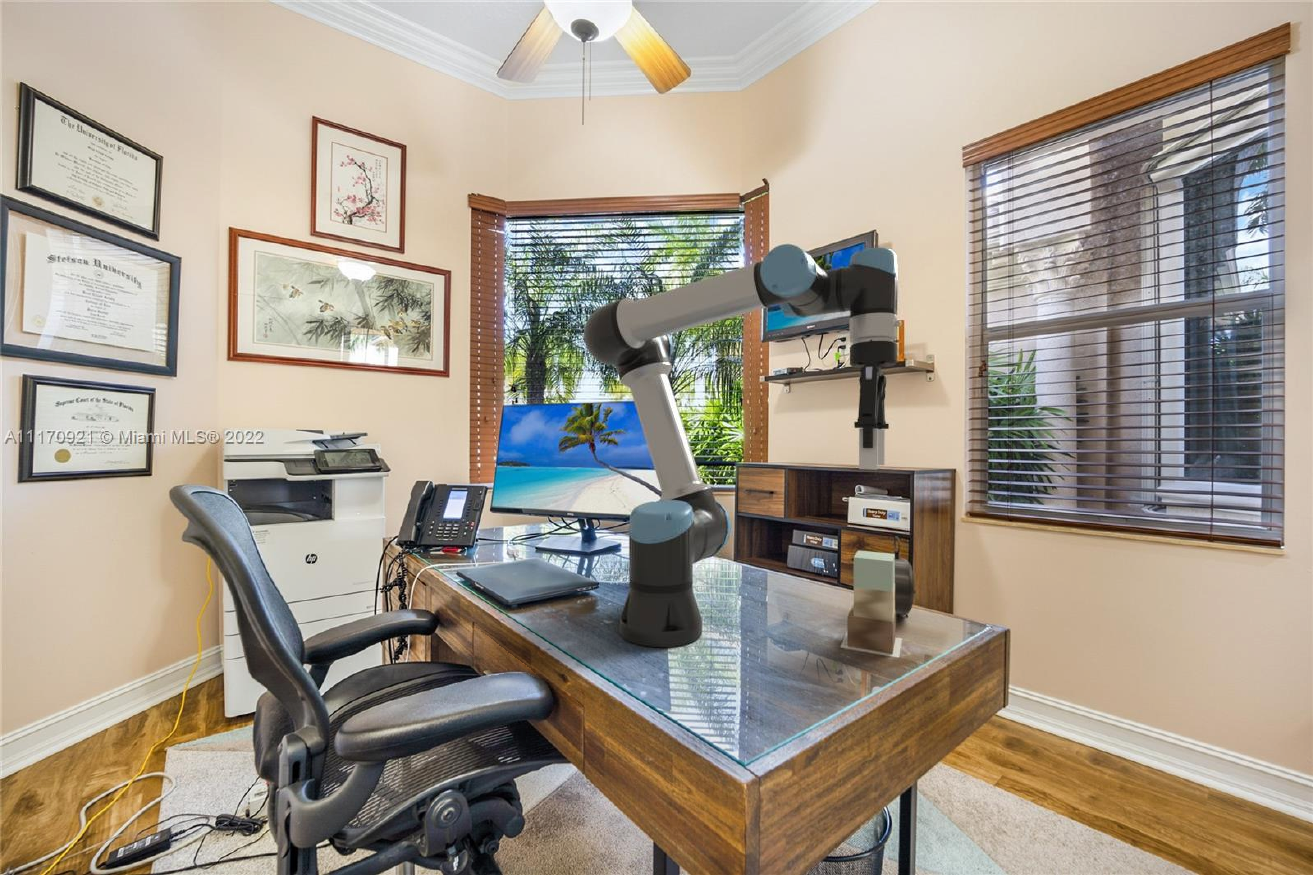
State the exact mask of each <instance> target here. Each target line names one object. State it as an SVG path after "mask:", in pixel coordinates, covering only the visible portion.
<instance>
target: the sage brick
mask: <svg viewBox="0 0 1313 875" xmlns="http://www.w3.org/2000/svg"><path fill="white" fill-rule="evenodd" d="M894 583H895V553H887V552H878V551H870V550H869V551H867V550H857V551H856V552H855V555H854V556H853V588H854V587H857V588H865V589H873V590H881V591H889V592H893V588H894Z"/></svg>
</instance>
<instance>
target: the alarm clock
mask: <svg viewBox="0 0 1313 875" xmlns="http://www.w3.org/2000/svg"><path fill="white" fill-rule="evenodd" d="M896 541H897V544H898V548H897V544H896ZM893 544H894V545H893V546H894V553H893V554H895V611H896V624H898V616H900V617H901V616H903V617H904V616H905V617H906V618H909V615H908V614H909V613H910V612H911V610H912V607H913V604H914V597H915V594H916V590H915V577H914V572H913V569H912V565H911V563H910V562H909V561H908V560H907V559H905V558H903V557H902V558H901V557H900V556H899V555H900V551H901V542H900V538H899V537H898V536H894V538H893Z"/></svg>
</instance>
